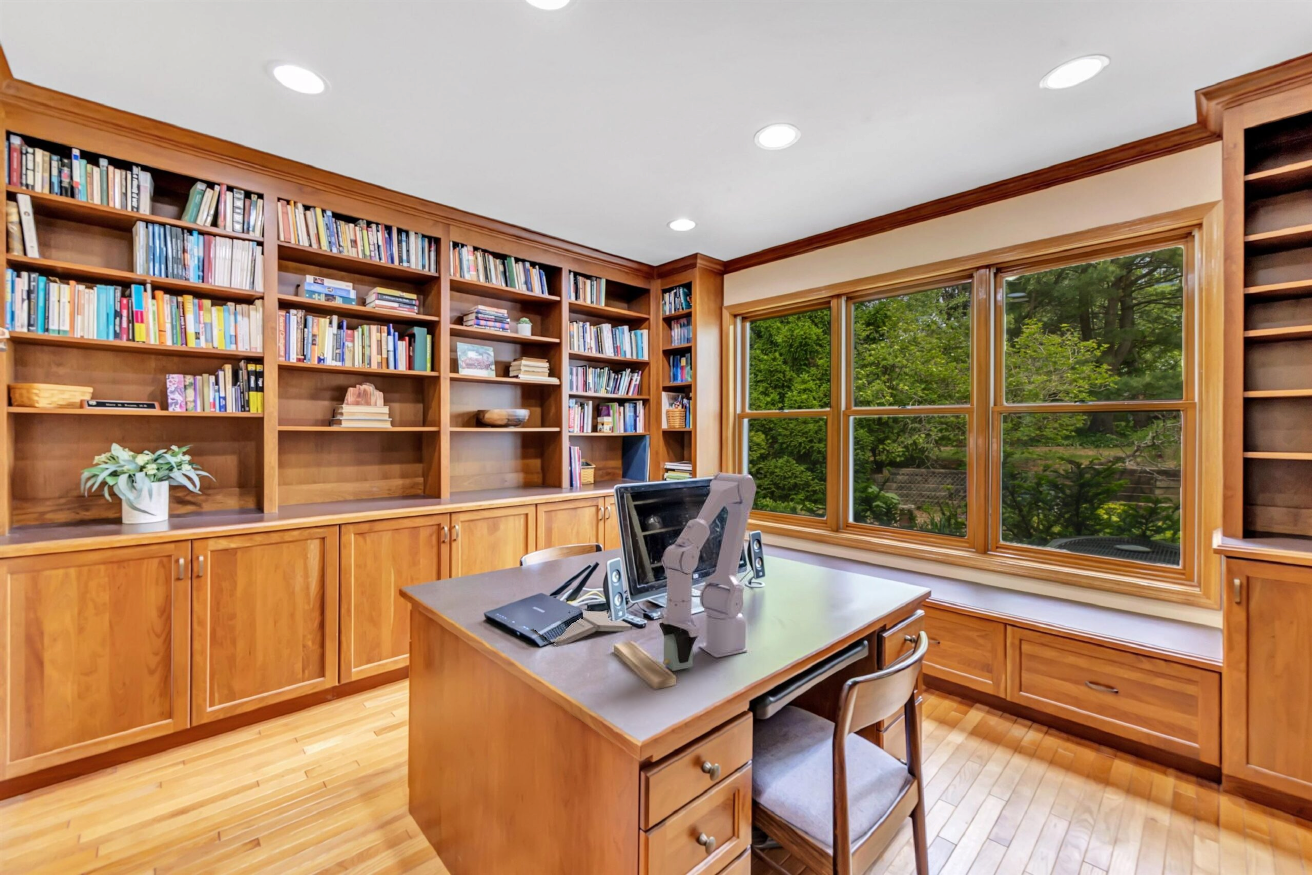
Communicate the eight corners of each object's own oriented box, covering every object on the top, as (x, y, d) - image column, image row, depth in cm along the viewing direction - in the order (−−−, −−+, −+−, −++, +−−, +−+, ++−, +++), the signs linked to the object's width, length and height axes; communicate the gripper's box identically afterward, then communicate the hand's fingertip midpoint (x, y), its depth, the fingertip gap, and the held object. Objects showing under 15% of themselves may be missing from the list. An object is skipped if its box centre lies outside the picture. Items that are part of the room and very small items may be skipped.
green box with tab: (682, 659, 129) (682, 631, 129) (692, 666, 125) (692, 638, 125) (659, 663, 126) (659, 635, 126) (668, 671, 122) (669, 642, 122)
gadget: (604, 616, 163) (605, 603, 163) (632, 631, 151) (633, 617, 151) (532, 631, 149) (532, 617, 149) (556, 649, 137) (557, 634, 137)
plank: (632, 648, 137) (632, 640, 137) (675, 684, 118) (675, 676, 117) (613, 651, 135) (614, 644, 135) (654, 689, 115) (655, 680, 115)
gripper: (649, 592, 130) (648, 649, 130) (679, 609, 118) (678, 673, 118) (675, 588, 134) (674, 644, 134) (707, 605, 121) (706, 667, 121)
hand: (678, 657), depth 126 cm, fingers closed on green box with tab, 4 cm apart
